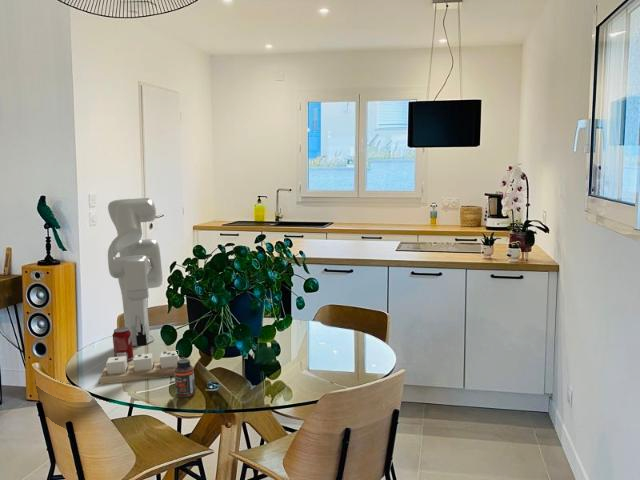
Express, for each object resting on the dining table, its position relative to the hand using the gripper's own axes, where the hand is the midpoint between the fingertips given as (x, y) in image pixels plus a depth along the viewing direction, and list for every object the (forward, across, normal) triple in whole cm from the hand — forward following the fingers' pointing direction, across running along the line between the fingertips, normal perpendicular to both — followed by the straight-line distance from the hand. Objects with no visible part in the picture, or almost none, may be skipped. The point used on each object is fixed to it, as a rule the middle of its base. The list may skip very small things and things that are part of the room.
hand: (142, 345), depth 215 cm
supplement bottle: (+11, +25, +15) cm, 31 cm away
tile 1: (+8, -1, -9) cm, 12 cm away
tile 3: (+8, -1, +9) cm, 12 cm away
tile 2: (+8, -1, 0) cm, 8 cm away
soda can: (+10, -19, -9) cm, 23 cm away
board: (+10, -1, 0) cm, 10 cm away
